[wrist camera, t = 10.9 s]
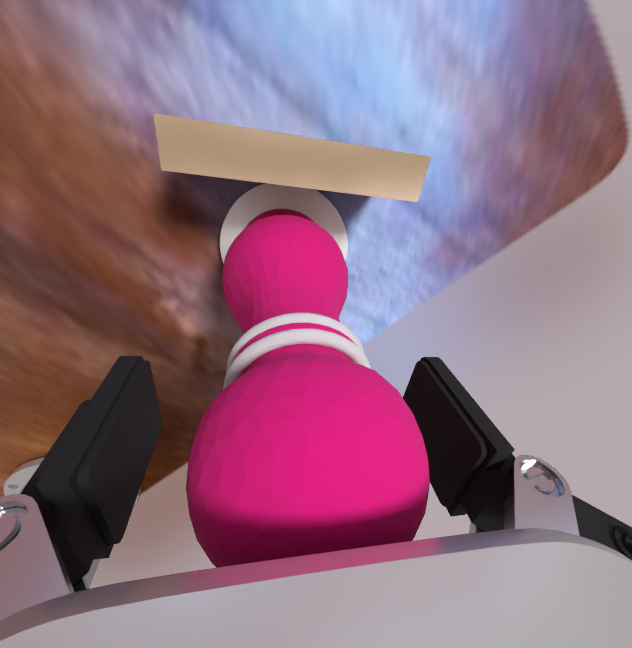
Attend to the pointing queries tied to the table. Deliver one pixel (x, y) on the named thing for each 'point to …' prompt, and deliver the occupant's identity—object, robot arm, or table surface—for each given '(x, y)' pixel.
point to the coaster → (282, 198)
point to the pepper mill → (300, 414)
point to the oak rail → (287, 159)
